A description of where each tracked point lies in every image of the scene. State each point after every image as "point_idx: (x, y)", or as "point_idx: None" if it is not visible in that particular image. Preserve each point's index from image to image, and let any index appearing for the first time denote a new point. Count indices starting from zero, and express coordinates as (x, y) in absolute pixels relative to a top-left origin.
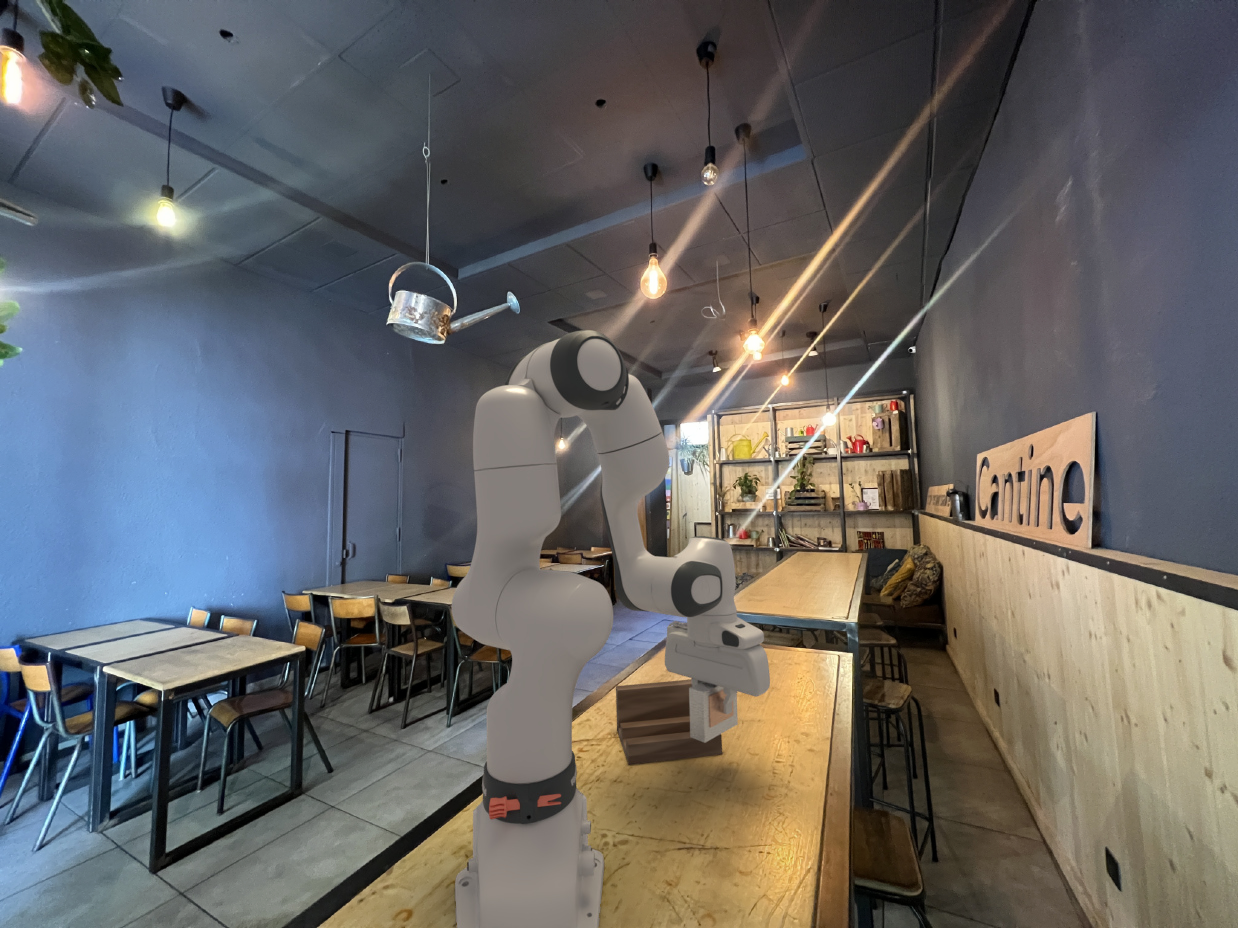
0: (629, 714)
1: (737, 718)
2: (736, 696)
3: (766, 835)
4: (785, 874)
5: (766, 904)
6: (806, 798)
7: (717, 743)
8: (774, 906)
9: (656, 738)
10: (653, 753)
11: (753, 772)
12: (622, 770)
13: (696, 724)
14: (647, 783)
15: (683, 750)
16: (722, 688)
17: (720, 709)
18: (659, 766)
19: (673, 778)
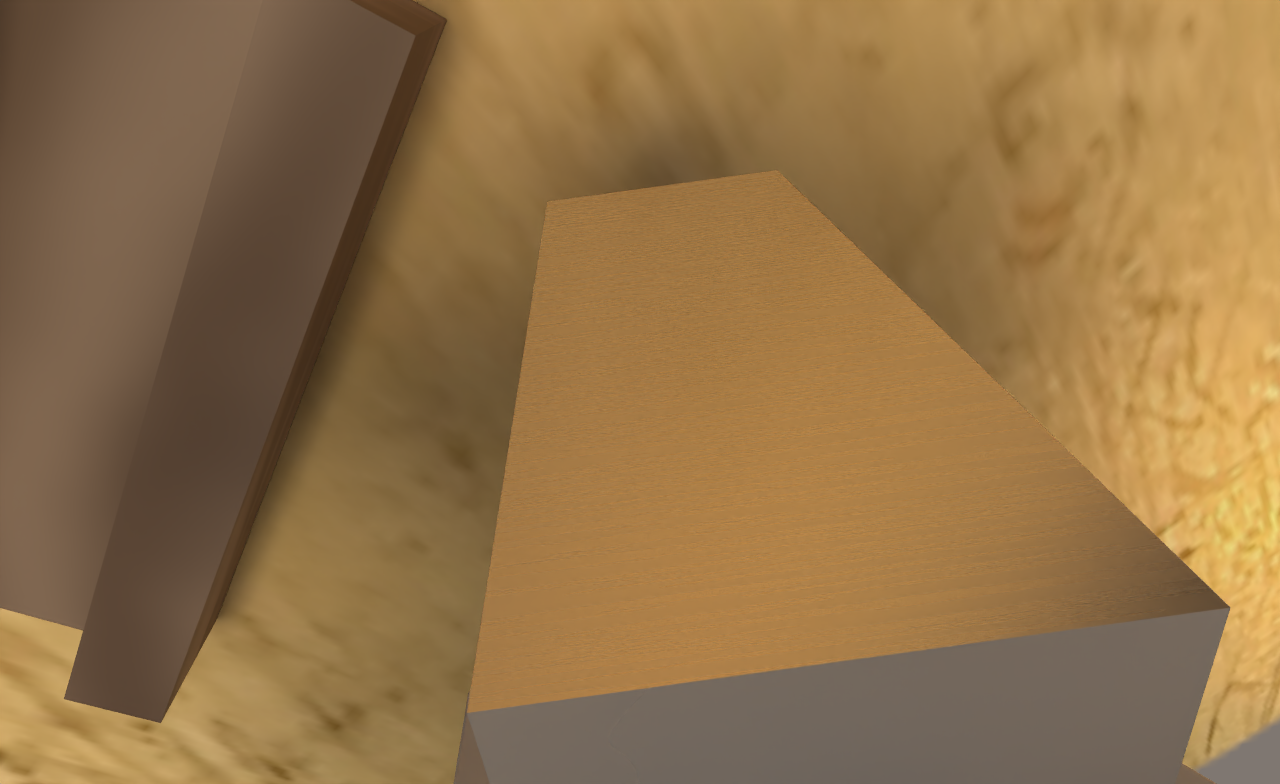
0: None
1: (796, 190)
2: (916, 316)
3: (1145, 488)
4: (1276, 586)
5: (1245, 703)
6: (1271, 39)
7: (414, 74)
8: (1271, 693)
9: (161, 550)
10: (240, 538)
11: (817, 54)
12: (257, 665)
13: None
14: (451, 636)
15: (310, 354)
16: None
17: None
18: (331, 505)
19: None
